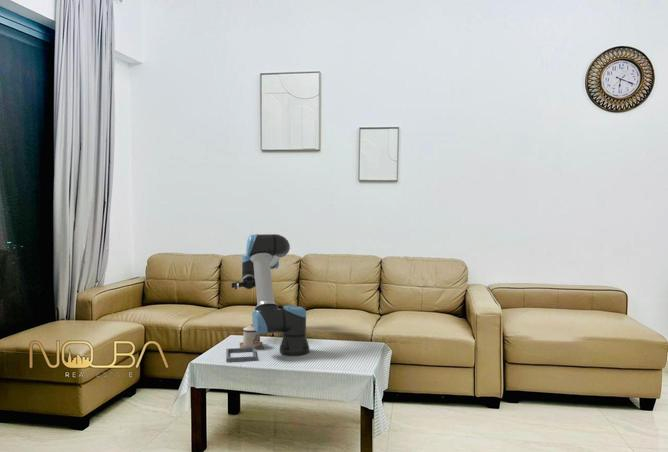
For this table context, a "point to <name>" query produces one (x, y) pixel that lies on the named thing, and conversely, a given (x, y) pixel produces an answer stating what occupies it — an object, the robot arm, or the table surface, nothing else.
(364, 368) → the table surface
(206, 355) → the table surface
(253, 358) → the holder tray
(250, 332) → the teacup with lid
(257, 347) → the walnut coaster
